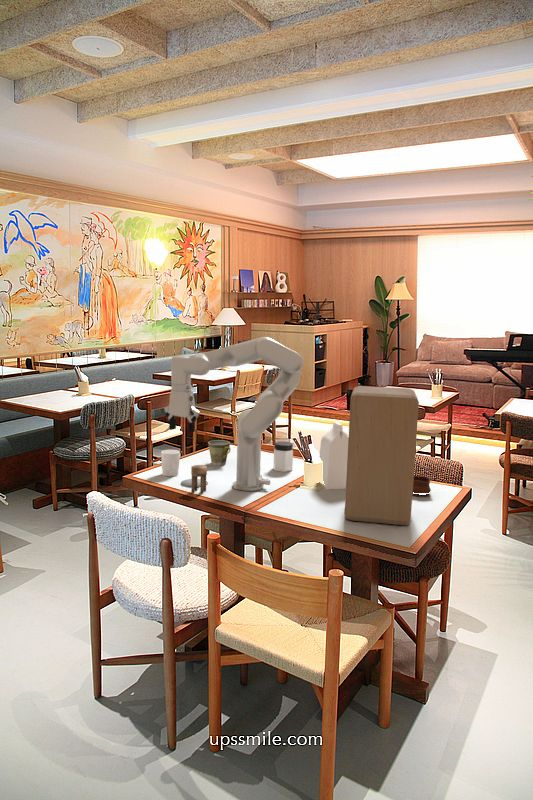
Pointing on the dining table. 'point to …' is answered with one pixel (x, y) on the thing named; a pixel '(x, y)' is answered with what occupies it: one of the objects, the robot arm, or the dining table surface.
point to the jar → (283, 456)
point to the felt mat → (189, 483)
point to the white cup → (170, 462)
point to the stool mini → (198, 472)
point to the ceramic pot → (421, 486)
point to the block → (381, 454)
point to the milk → (334, 457)
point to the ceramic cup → (219, 451)
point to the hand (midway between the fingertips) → (182, 430)
